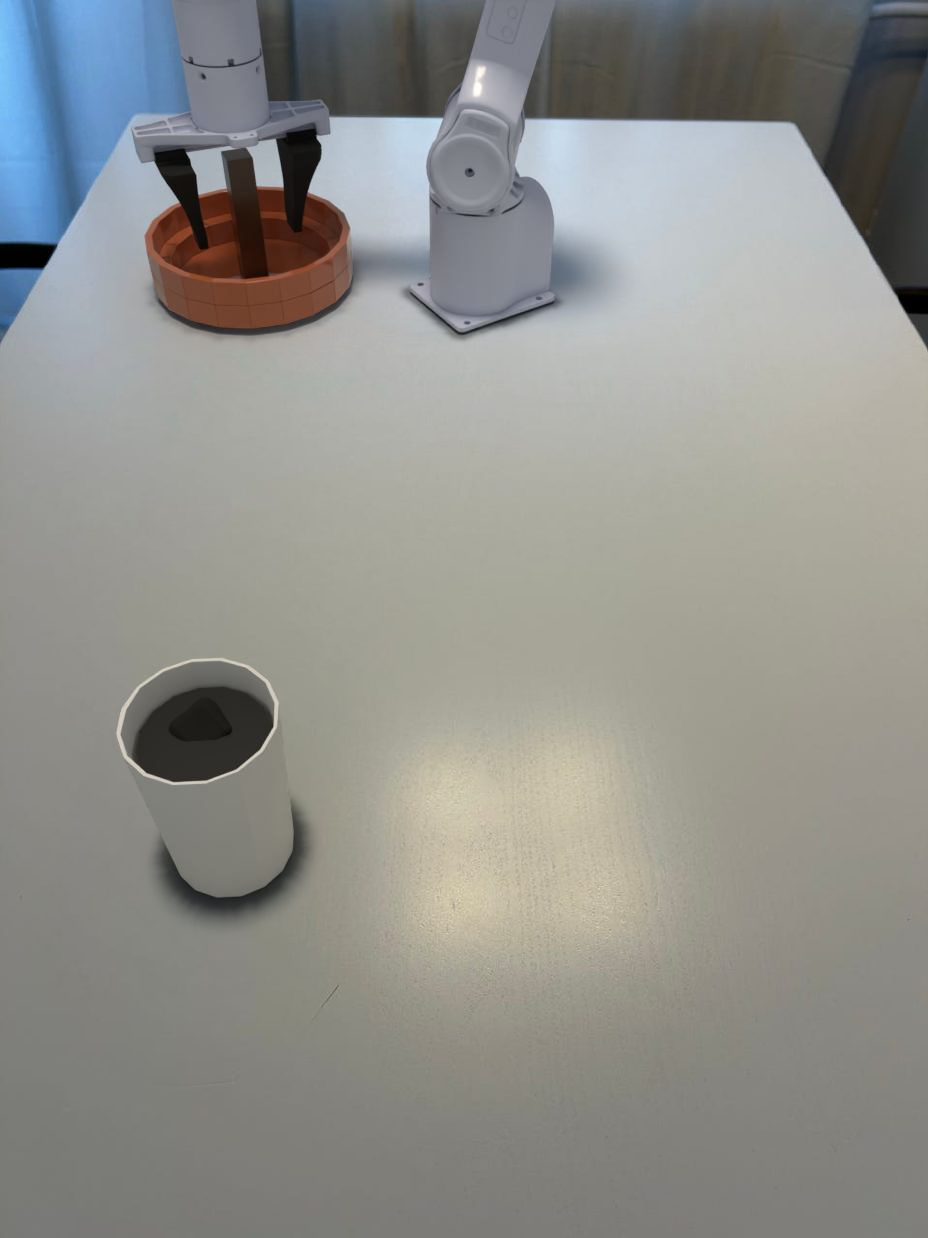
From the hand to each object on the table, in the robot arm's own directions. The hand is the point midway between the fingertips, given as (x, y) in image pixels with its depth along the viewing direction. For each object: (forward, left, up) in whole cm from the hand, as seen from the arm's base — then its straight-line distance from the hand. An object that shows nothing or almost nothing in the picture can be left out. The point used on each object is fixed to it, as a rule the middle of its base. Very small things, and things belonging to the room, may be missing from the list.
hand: (248, 235), depth 83 cm
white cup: (+24, +48, -4) cm, 54 cm away
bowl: (0, 0, -4) cm, 4 cm away
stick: (0, 0, -3) cm, 4 cm away
